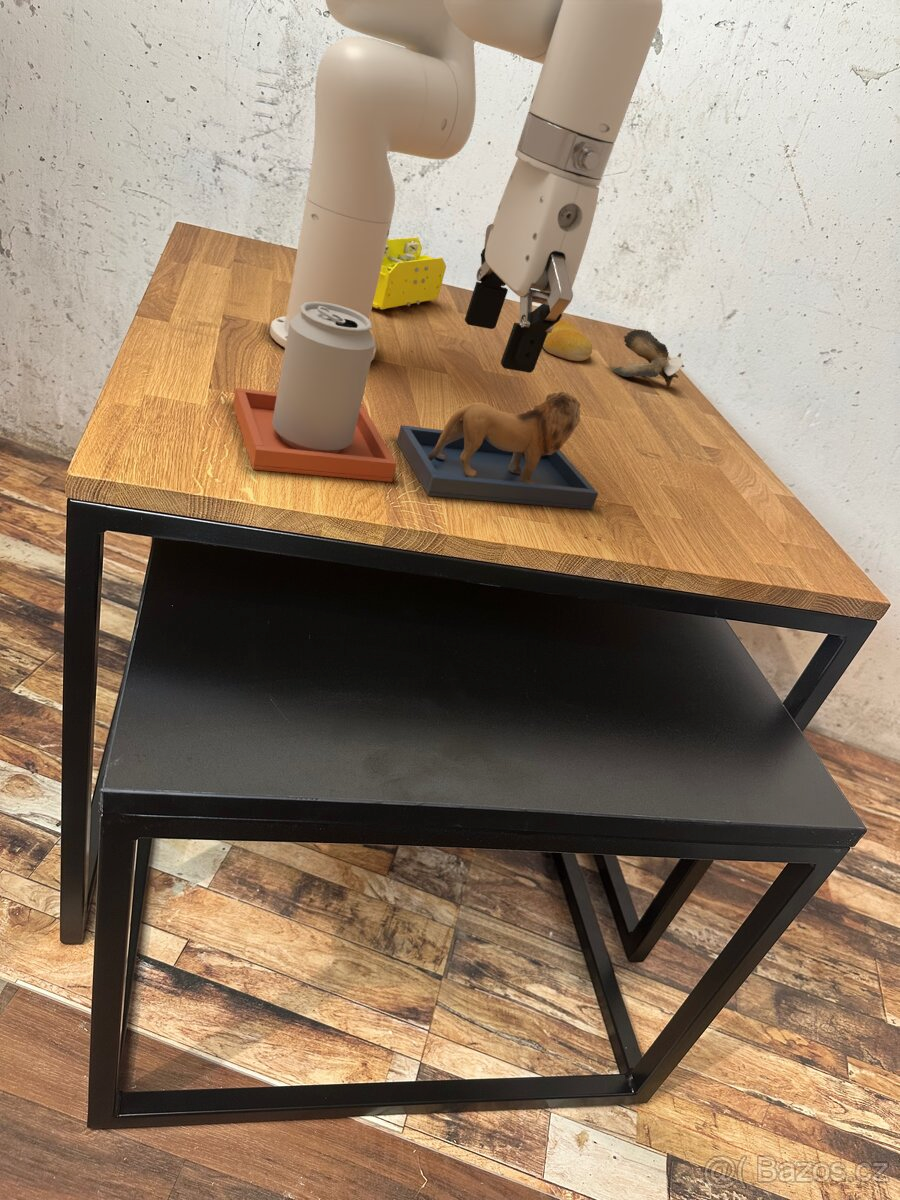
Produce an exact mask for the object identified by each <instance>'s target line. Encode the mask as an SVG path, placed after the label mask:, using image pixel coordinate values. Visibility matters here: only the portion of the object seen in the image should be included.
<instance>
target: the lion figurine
mask: <svg viewBox="0 0 900 1200" xmlns="http://www.w3.org/2000/svg"><path fill="white" fill-rule="evenodd" d="M580 408H581V402H580V401H579V400H578V399H577V398H576V397H574V396H573V395H571V394H570V393H568V392H565V391H559V392H553V393H549V394H547V395H546V397H545V401H544V402H542V403H540V404H537V405H535V406H534V408H533V409H530V410H527V411H526V412H524V413H520V414H517V413H511V412H506V411H503V410H499V409H498V408H495V407H494V406H492V405H490V404H487V403H486V402H485V403H484V402H478V401H477V402H470V403H467V404H465V405H462V406H461V407H459V408H458V409H457V410H456V411H455V412H454V413H453V414H452V416H451V417H450V418H449V419H448V421H447V423H446V424H445V426H444V428H443V429H442V430H443V432H442V434H441V436H440V438H439V440H438V443H437V445H436V446H435V448H434V449H433V451H432V452H431V453H429V454H428V455H427V456H428V458H429V460H430V461H431V460H433V459H434V457H436V458H438V459H441V460H445V459H446V457H447V454H446V453H445V452H443V448H444V447H445V446H446V445H447V444H449V443H451V442H453V441H456V440H458V439H461V438H463V437H464V450H463V452H462V454H461V455H460V461H461V464H462V467H463V471H464V473H465V475H466V476H467V477H472V478H477V472H476V470H474V469H472V468H471V466H470V460H471V457H472V456H473V454H474V453H475V452H476V451H477V449H478V448H479V447H480V446H481V444H482V442H483V439H484V438H485V439H486V440H487V441H488V442H489V443H490V444H491V445H492V446H494V447H496V448H498V449H500V450H503V451H508V452H513V457H512V460H511V462H510V464H509V470H510V471H511V472H512V473H516V474H518V473H521V467H519V465H520V461H521V459H522V457H523V455H524V453H525V458H526V462H525V466H524V469H523V471H522V473H521V478H522V482H523V483H533V484H534V481H533V480H532V479H530V476H531V475H532V473H533V471H534V470H535V468H536V466H537V464H538V463H539V460H540V457H541V456H544V455H552V454H553V453H554V452H557V451H558V450H559V449H561V448H562V447H563V446H564V445H565V444H566V442H567V441H568V440H569V438H570V437H571V436H572V435H573V433H574V431H575V429H577V427H578V426H579V423H580V421H581V409H580Z"/></svg>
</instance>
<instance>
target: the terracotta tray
mask: <svg viewBox="0 0 900 1200" xmlns="http://www.w3.org/2000/svg"><path fill="white" fill-rule="evenodd" d="M276 397H277V392H274V391H265V390H256V389H249V388H242V387H235V389H234V397H233V403H232V407H233V410H234V415H235V417H236V421H237V423H238V426H239V429H240V432H241V436H242V439H243V442H244V445H245V448H246V449H245V450H246V452H247V455H248V459H249V462H250V464H251V467H252V470H255V471H267V472H277V473H289V474H300V475H310V476H321V477H332V478H343V479H355V480H364V481H375V482H387V483H392V482H393V480H394V476H395V471H396V468H397V462H396V459H395V458H394V457H393V455H392V453H391V452H390V450H389V448H388V446H387V444H386V443H385V441H384V440H383V437H382V435H381V434H380V432H379V430H378V429H377V426H375V423H374V421H373V420H372V418H371V416H370V414H369V412H368V411H367V409H366V408H365V405H364V404H363V403H361V407H360V411H359V416H358V420H357V424H356V429H355V433H354V437H353V441H352V444H351V445H349V446H348V447H346V448H344V449H342V450H340V451H339V452H337V453H334V454H333V453H323V452H313V451H304V450H298V449H296V448H293V447H291V446H290V445H288V444H287V443H285V442H284V441H283V440H282V439H281V438H280V435H279V434H278V433H277V432H276V430H275V429H274V428H273V424H272V420H273V414H274V409H275V403H276Z"/></svg>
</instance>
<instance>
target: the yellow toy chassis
mask: <svg viewBox="0 0 900 1200" xmlns="http://www.w3.org/2000/svg"><path fill="white" fill-rule="evenodd" d="M422 250H423V247H422V244H421V241H420V238H419V237H402V238H388V239H387V244H386V248H385V253H384V257H383V261H382V266H381V270H380V275H379V279H378V284H377V288H376V292H375V297H374V301H373V306H372V309H373V308H374V309H376V310H382V311H383V310H386V309H390V308H396V307H400V306H407V307H410V306H411V305H412V304H416V305H420V303H422V302H427V301H434V300H437V299H439V295H440V292H441V288H442V284H443V280H444V278H445V277H444V276H445V273H446V268H447V265H446V262H445V260H444V258H443V257H435V258H434V257H431V256H429V255H426V254H422V255H421V253H422Z"/></svg>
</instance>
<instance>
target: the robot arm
mask: <svg viewBox="0 0 900 1200" xmlns="http://www.w3.org/2000/svg"><path fill="white" fill-rule="evenodd" d="M325 4H326V7H327V9H328V12H329V15H331V17H332V18H333V19H334V21H336V22H337V23H339V24H340V25H341V26H343V27H345V28H347V29H350V30H351V31H355V32H357V33H360V34H362V35H365V36H347V37H344V38H342V39H339V40H337V41H335V42H333V43H332V44H331V45H329V47H328V48H327V49H326V50H325V52H324V53H323V55H322V57H321V59H320V61H319V64H318V67H317V71H316V77H315V88H314V90H315V91H314V106H315V107H314V137H313V148H312V149H313V150H312V159H311V165H310V170H309V171H310V172H309V178H308V185H307V189H306V190H307V191H306V196H305V203H304V208H303V209H304V210H303V215H302V221H301V227H300V232H299V238H298V243H297V250H296V256H295V261H294V268H293V272H292V273H293V274H292V279H291V284H290V291H289V295H288V301H287V308H286V314H285V315H283V316H279V317H277V318H275V319H273V320H272V321H271V323H270V328H269V335H270V336H271V338H272V339H273V340H274V341H275V343H277V344H278V345H280V346H281V347H283V348H284V349H285V346H286V340H287V335H288V329H289V323H290V321H291V320H292V318H294V317H295V316H296V315H298V314H299V313H301V310H300V307H301V305H302V304H304V303H307V302H326V303H331V304H336V305H340V306H343V307H347V308H349V309H352V310H354V311H357V312H359V313H360V314H362V315H364V316H365V317H367V318H368V319H369V320H370V319H371V314H372V311H373V310H372V309H373V308H372V306H373V301H374V297H375V292H376V288H377V284H378V279H379V275H380V270H381V266H382V261H383V257H384V253H385V248H386V244H387V239H389V234H390V230H391V225H392V220H393V216H394V211H395V205H396V185H395V182H394V177H393V174H392V169H391V165H390V162H389V159H388V152H389V153H390V152H391V153H398V154H403V155H408V156H414V157H419V158H424V159H429V160H441V161H442V160H446V159H450V158H453V157H455V156H456V155H457V154H459V153H460V152H461V151H462V150H463V149H464V147H465V146H466V144H467V142H468V140H469V139H470V136H471V133H472V130H473V125H474V122H475V117H476V106H477V105H476V104H477V103H476V102H477V96H476V95H477V91H476V90H477V87H476V64H475V61H476V60H475V42H477V43H479V44H482V45H485V46H488V47H492V48H495V49H498V50H502V51H504V52H507V53H509V54H510V53H511V54H513V55H515V56H520V57H521V58H523V59H525V60H529V61H532V62H534V63H538V64H541V65H542V67H541V70H540V73H539V75H538V79H537V82H536V86H535V89H534V92H533V95H532V99H531V102H530V105H529V108H528V112H527V114H526V117H525V120H524V124H523V127H522V130H521V134H520V136H519V140H518V143H517V147H516V150H515V152H514V156H515V157H516V158H517V159H516V162H515V164H514V166H513V168H512V170H511V173H510V175H509V178H508V181H507V183H506V186H505V188H504V191H503V194H502V196H501V199H500V201H499V205H498V207H497V210H496V213H495V216H494V219H493V222H492V223H490V224H489V225H487V227H486V229H485V237H484V245H483V249H482V250H481V253H480V266H479V268H478V269H477V272H476V281H475V285H474V288H473V291H472V295H471V297H470V300H469V304H468V306H467V307H468V308H467V310H466V313H465V317H464V322H465V323H466V325H469V326H473V327H478V328H483V329H487V330H488V329H489V330H494V329H495V328H496V327H497V324H498V322H499V319H500V315H501V312H502V310H503V307H504V303H505V300H506V297H507V295H508V291H509V289H510V291H512V292H513V293H514V294H515V295H516V296H517V297H519V322H514V323H513V326H512V328H511V331H510V334H509V337H508V339H507V343H506V346H505V348H504V351H503V354H502V357H501V360H500V365H501V367H502V368H503V369H505V370H506V369H507V370H512V371H517V372H523V373H528V374H529V373H530V374H531V373H532V372H534V371H535V369H536V365H537V363H538V361H539V359H540V355H541V353H542V350H543V344H544V342H545V339H546V336H547V333H550V332H551V331H552V330H553V327H554V324H556V323H557V322H558V321H559V320H561V318H562V316H563V313H564V312H565V310H566V309H567V308H568V306H569V305H570V304H571V302H572V301H573V299H574V298H573V297H574V292H573V286H574V284H575V281H576V278H577V275H578V272H579V269H580V266H581V262H582V259H583V256H584V254H585V250H586V247H587V243H588V240H589V236H590V233H591V229H592V226H593V223H594V222H593V221H594V219H595V214H596V208H597V203H598V199H599V192H600V188H599V186H600V184H601V181H602V178H603V176H604V174H605V172H606V168H607V166H608V163H609V160H610V159H611V155H612V153H613V149H614V147H615V143H616V141H617V138H618V135H619V133H620V130H621V128H622V126H623V125H622V124H623V122H624V120H625V116H626V114H627V111H628V109H629V106H630V103H631V101H632V98H633V95H634V93H635V89H636V88H637V85H638V81H639V78H640V76H641V73H642V70H643V68H644V66H645V63H646V60H647V57H648V55H649V52H650V49H651V47H652V43H653V41H654V39H655V36H656V33H657V30H658V28H659V24H660V21H661V19H662V14H663V0H325ZM505 286H507V287H508V288H509V289H508V288H507V287H505ZM533 303H535V304H540V305H539V306H537V307H536V308H534V310H533ZM376 351H377V347H376V346H375V347H374V351H373V356H372V360H371V362H372V361H373V360H374V359H375V357H376Z"/></svg>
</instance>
